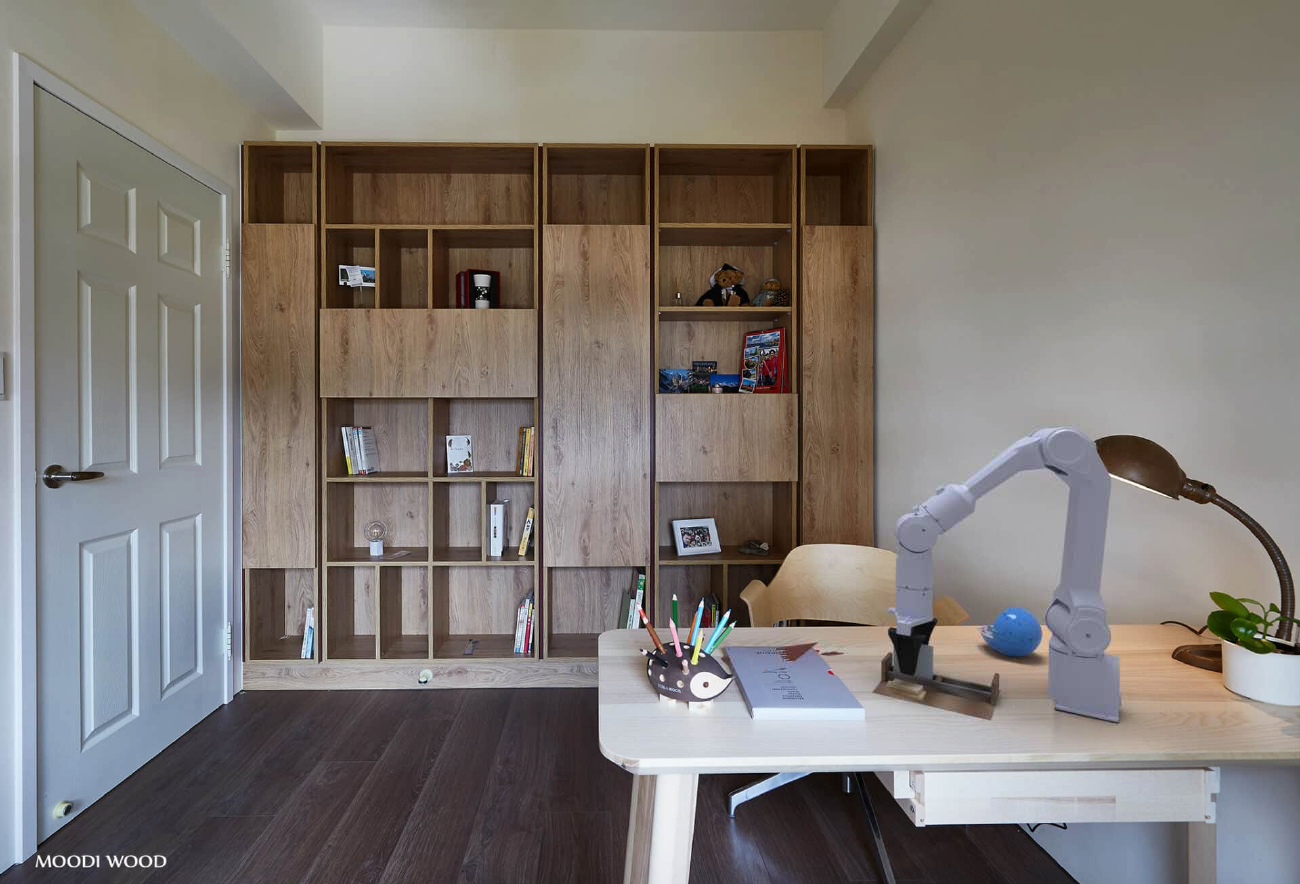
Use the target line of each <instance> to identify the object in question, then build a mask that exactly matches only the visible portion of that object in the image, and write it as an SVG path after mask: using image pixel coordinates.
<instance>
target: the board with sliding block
mask: <svg viewBox="0 0 1300 884" xmlns="http://www.w3.org/2000/svg"><path fill="white" fill-rule="evenodd" d="M880 663H881V672H880V673H881V676H880V682H879V683H878V685H877V686H876V687H875V688H874V689H873V690H872V692H871V693H873V694H877V695H880V696H881V695H882V696H884V697H889V698H894V699H897V700H903V701H907V702H911V703H913V704H919V705H924V706H927V707H932V708H934V709H935V708H936V709H940V710H944V711H949V712H954V713H956V714H957V713H958V714H962V715H965V716H970V717H974V718H979V719H982V720H987V721H992V718H993V715H994V713H995V709H996V706H997V703H998V701H999V697H1000V694H1001V689H1000V673H998V672H994V675H993V676H992V677H993V678H992V681H991V684H990V685H987V684H984V683H983V684H982V683H978V682H972V681H968V680H963V679H958V678H954V677H949V676H944V675H941V674H940V675H939V674H935V673H933V680H929V679H924V678H919V677H915V676H910V675H905V674H901V673H896V672H893V652H892V651H889V652H887V654H886V655H885V656H884V657H883V658H882V659H881V662H880ZM895 679H898V680H902V681H906V682H910V683H914V684H918V685H922V686H923V690H922V691H926V695H925V697H924V698H923V700H922V701H921V700H917V699H913V698H909V697H904V696H900V695H896V694H891V693H887V692H885V689H886V685H887V683H888V681H893V680H895Z"/></svg>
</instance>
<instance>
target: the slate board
mask: <svg viewBox="0 0 1300 884" xmlns="http://www.w3.org/2000/svg"><path fill="white" fill-rule="evenodd" d="M892 651H893V652H892V653H893V672H896V673H901V672H900V669H899V665H898V660H897V655H896V651H895V648H894V647H893V650H892ZM901 674H903V673H901ZM933 674H934V645H933V646H932V645H930V644H928V645H923V644H922V645H921V648H920V651H919V656H918V662H917V668H916V671H915V674H914V676H915V677H919V678H924V679H929V680H933ZM905 675H908V674H905ZM910 676H912V675H910Z"/></svg>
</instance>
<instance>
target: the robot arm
mask: <svg viewBox="0 0 1300 884" xmlns="http://www.w3.org/2000/svg"><path fill="white" fill-rule="evenodd" d="M1097 450H1098V449H1097V443H1096V442H1095V441H1094V440H1092V439H1091V438H1090V437H1089V436H1087V435H1086V434H1085V433H1084V432H1082V431H1081V430H1079V429H1077V428H1075V427H1071V426H1063V427H1051V426H1049V427H1047V426H1044V427H1039V428H1037V429H1035V430H1033V431H1031V432H1030V433H1029V435H1027V436H1023V437H1022V438H1020V439H1018V440H1017V441H1016V442H1014V443H1013V444H1011V445H1010V446H1009V447H1008V448H1006V449H1005V450H1004V451H1002V452H1001V453H1000V454H998V455H997V456H996V457H994V458H993V459H992V460H991V461H990V462H989V463H987V464H986V465H985V466H984V467H982V468H981V469H979V471H977V472H976V473H975V474H973V475H972V476H971V477H970V478H969V479H967V480H966V481H965V482H964V483H963V484H955V483H949V484H948V485H946V486H943V485H939V486H938V487H937V488H935V492H936V493H935V494H934V495H933V496H931V497H930V498H928V499H927V500H926V501H924V502H923V503H922V504H921V505H919V506H918V504H916V505H914V506H912V507H911V510H912V511H913V513H912V512H911V513H905V514H904V515H902V516H901V517H899V518H898V519H897V521H896V524H895V527H894V528H893V533H894V536H895V538H896V539H897V541H898V542H897V546H896V554H897V555H896V558H895V605H894V607H893V606H891V607H890V606H889V608H888V609H887V613H888V614H890V615H893V616H894V617H895V620H896V627H893V626H891V627H889V628H888V629H887V635H888V637H889V639H890V641H891V644H892V646H893V648H895V651H896V655H897V660H898V665H899V669H900V672H901V673H903V674H908V675H912V676H914V674H915V671H916V668H917V662H918V656H919V651H920V648H921V645H922V644H923V645H930V639H931V636H932V634H933V631H934V630H935V627H936V626H937V624H938V618H936V617H934V613H933V595H934V594H933V590H934V589H933V588H934V587H933V586H934V583H933V582H934V581H933V580H934V579H933V578H934V577H933V576H934V575H933V573H934V572H933V571H934V560H933V548H934V547H935V545H936V543H937V541H938V537H939V536H941V535H944V534H945V533H947V532H948V531H949V530H952V529H953V528H954V527H955V526H956V525H958V524H959V523H960V522H962V521H964V520H965V519H966V518H968V517H969V516H971V515H972V514H974V512H975V511H976V503H977V500H979V499H980V498H982V497H983V496H985V495H986V494H987V493H990V492H991V491H992V490H994V489H996V488H997V487H998V486H1000V485H1001V484H1003V483H1004V482H1006V481H1007V480H1009V479H1010V478H1012V477H1014V476H1015V475H1017V474H1018V473H1020V472H1023V471H1024V472H1025V471H1035V470H1043V469H1047V470H1050V471H1051V472H1053V473H1054V474H1055V475H1056V476H1057V477H1059V479H1061V480H1062V481H1063V482H1064V483H1065V484H1066V485H1067V486H1068V488H1069V491H1068V493H1069V495H1068V502H1067V512H1066V523H1065V534H1064V543H1063V552H1062V559H1061V560H1062V562H1061V571H1060V582H1059V585H1057V587H1056V588H1055V589H1054V591H1053V593H1052V599H1051V602H1050V603H1049V605H1048V607H1047V608H1046V609H1045V613H1044V618H1043V619H1044V624H1045V626H1046V628H1047V629H1048V630H1049V631H1050V632H1051V637H1050V638H1049V640H1048V671H1047V672H1048V673H1047V674H1048V676H1047V678H1048V679H1047V689H1048V690H1047V696H1048V697H1049V698H1050V699H1051V700H1053V701H1055V703H1054V709H1055V710H1059V711H1063V712H1068V713H1073V714H1078V715H1081V716H1087V717H1092V718H1095V719H1096V718H1097V719H1100V720H1105V721H1110V722H1115V723H1119V722H1120V707H1121V706H1122V693H1120V684H1121V683H1120V682H1121V681H1120V678H1121V676H1120V674H1121V671H1120V666H1121V665H1120V656H1118V655H1115V654H1114V655H1112V654H1109V653H1106V652H1105V651H1106V650H1107V648H1109V645H1110V644H1111V641H1112V633H1111V629H1110V627H1109V625H1108V623H1107V608H1106V605H1105V603H1104V600H1103V598H1102V595H1101V585H1102V584H1101V583H1102V573H1103V564H1104V556H1105V555H1104V554H1105V546H1106V545H1105V544H1106V539H1107V538H1106V535H1107V528H1108V517H1109V507H1110V498H1111V489H1112V478H1111V475H1110V473H1109V471H1108V469H1107V467H1106V466H1105V463H1104V462H1103V460H1102V459H1101V457H1100V454H1099V453H1098V451H1097Z"/></svg>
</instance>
